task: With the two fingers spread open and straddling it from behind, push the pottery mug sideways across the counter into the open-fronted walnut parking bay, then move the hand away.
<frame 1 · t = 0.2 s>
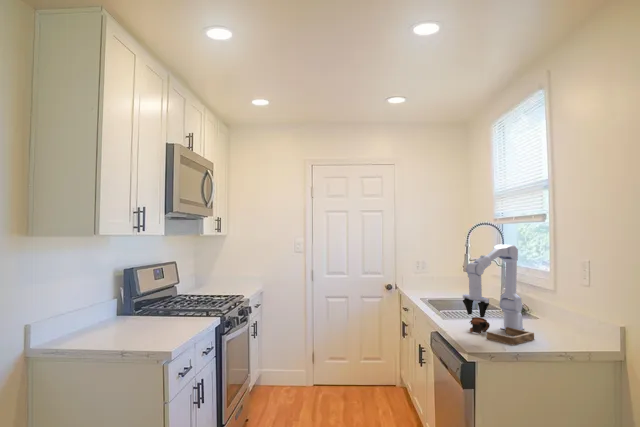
hand: (475, 315, 199), 10 cm above the counter, tool pointing down, fingers open, 7 cm apart
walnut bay: (507, 338, 196), on the counter
pottery mug: (480, 332, 208), on the counter
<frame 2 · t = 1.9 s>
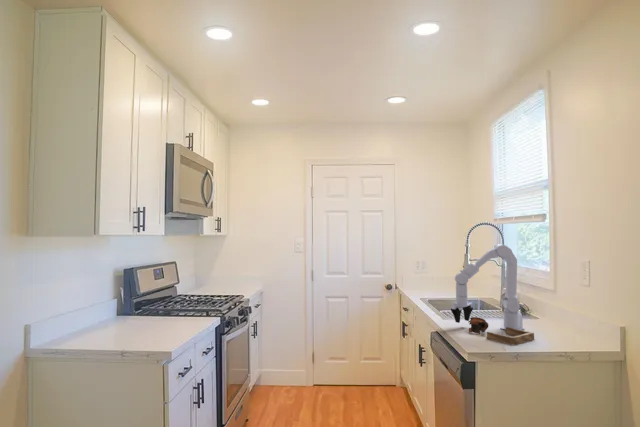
hand: (462, 321, 217), 3 cm above the counter, tool pointing down, fingers open, 7 cm apart
nothing on the counter moved.
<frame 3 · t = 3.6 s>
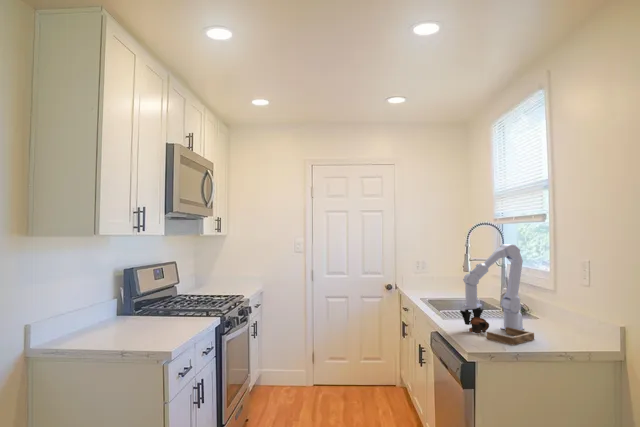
hand: (471, 323, 212), 3 cm above the counter, tool pointing down
pottery mug: (479, 332, 207), on the counter, touching gripper
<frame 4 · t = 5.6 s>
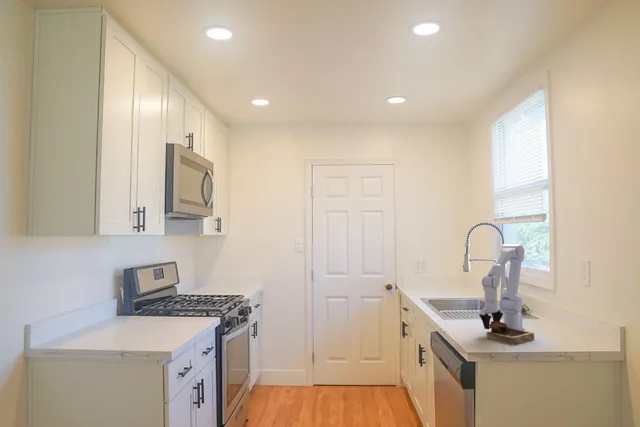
hand: (491, 327, 203), 3 cm above the counter, tool pointing down
pottery mug: (499, 337, 198), on the counter, touching gripper
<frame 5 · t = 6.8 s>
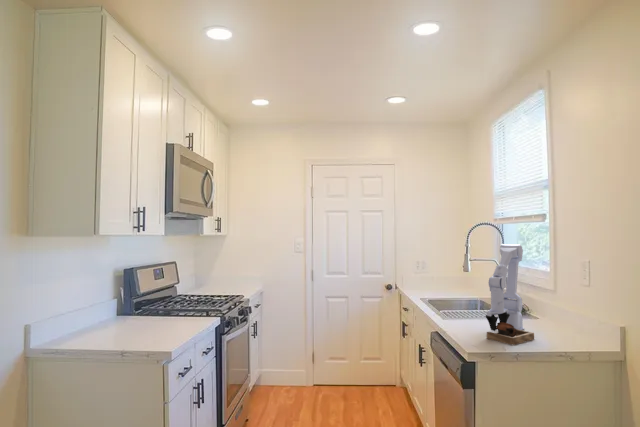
hand: (498, 329, 200), 3 cm above the counter, tool pointing down
pottery mug: (506, 338, 195), on the counter, touching gripper
when the fingers open (3 cm above the counter, at t = 7.6 s): pottery mug stays where it is, on the counter.
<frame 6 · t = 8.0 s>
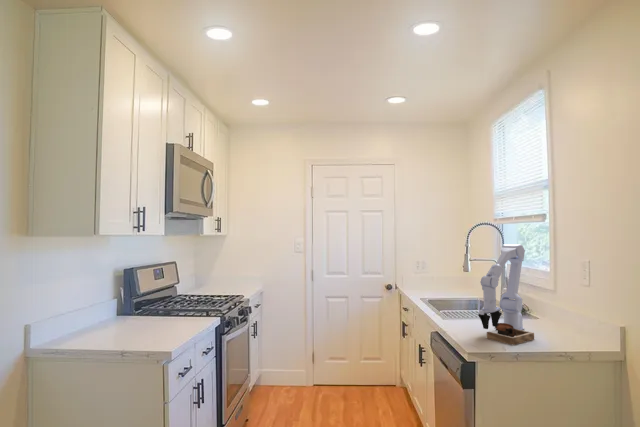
hand: (490, 327, 203), 3 cm above the counter, tool pointing down, fingers open, 7 cm apart
pottery mug: (506, 339, 195), on the counter
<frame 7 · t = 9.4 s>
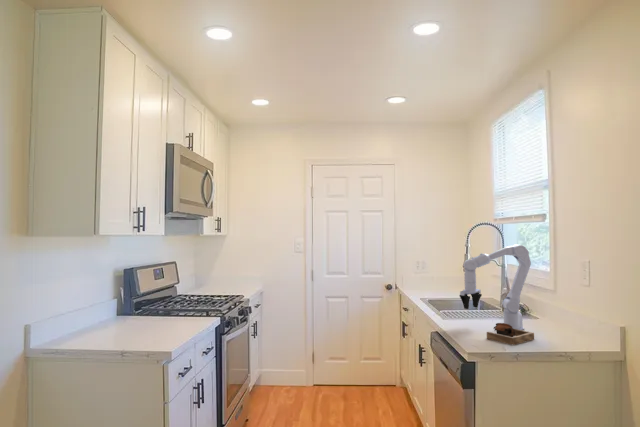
hand: (470, 307, 217), 10 cm above the counter, tool pointing down, fingers open, 7 cm apart
nothing on the counter moved.
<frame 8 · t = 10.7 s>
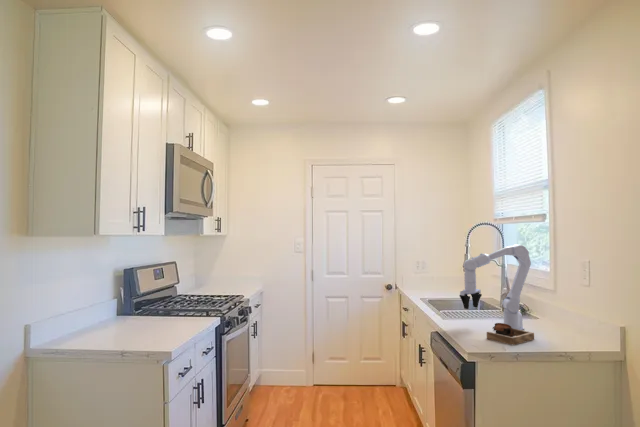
hand: (470, 307, 217), 10 cm above the counter, tool pointing down, fingers open, 7 cm apart
nothing on the counter moved.
at the end: pottery mug inside the target area (2.1 cm from its centre), on the counter; pottery mug tilted 1°; pottery mug moved 14.5 cm from its start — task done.
